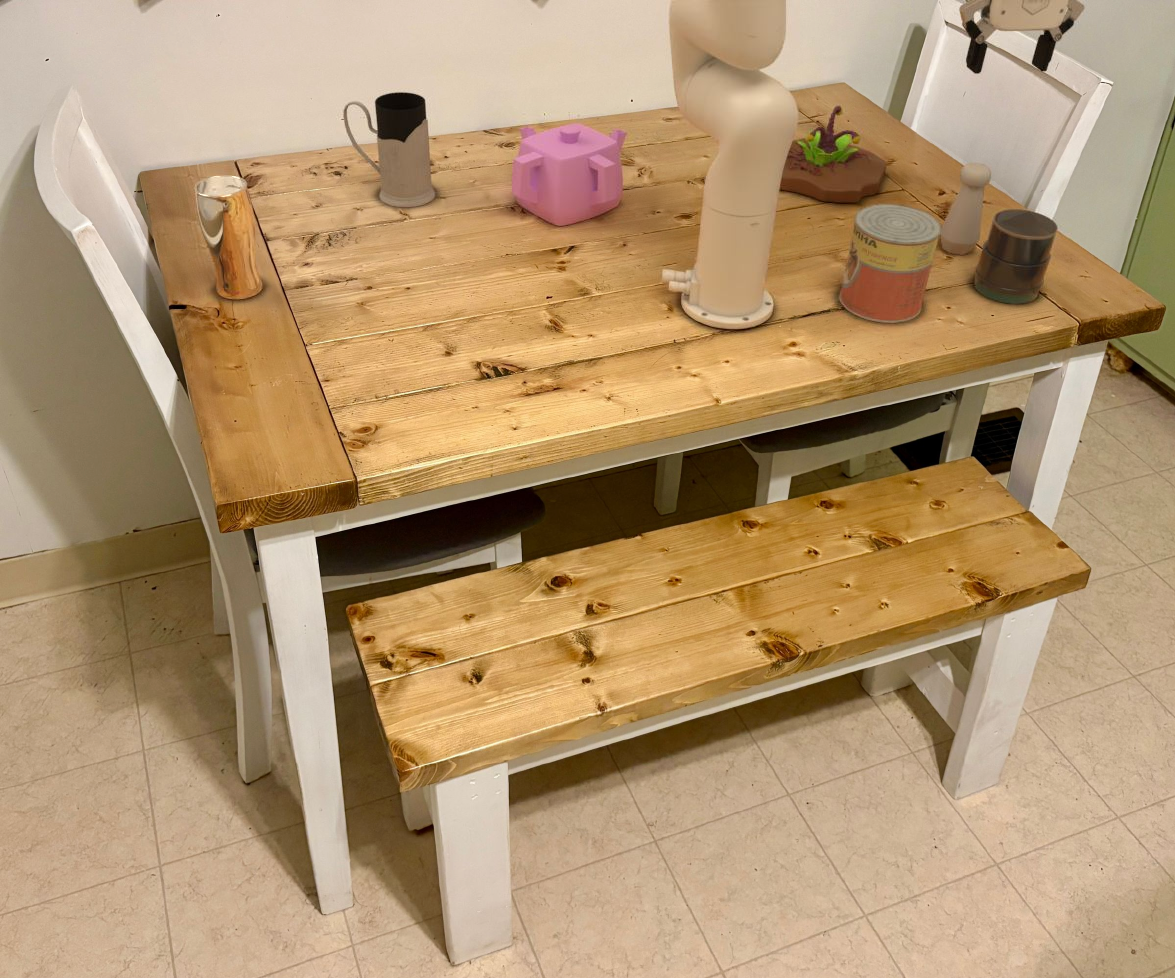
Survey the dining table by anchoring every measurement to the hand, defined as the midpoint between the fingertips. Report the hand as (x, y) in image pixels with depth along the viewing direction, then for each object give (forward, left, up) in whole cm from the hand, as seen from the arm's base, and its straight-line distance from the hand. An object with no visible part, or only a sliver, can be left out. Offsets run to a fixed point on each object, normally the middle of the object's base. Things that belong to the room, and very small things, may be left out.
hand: (1006, 69), depth 154 cm
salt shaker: (-1, -1, -27) cm, 27 cm away
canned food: (-13, -20, -27) cm, 36 cm away
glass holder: (-89, -2, -27) cm, 93 cm away
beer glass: (-100, -36, -27) cm, 109 cm away
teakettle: (-61, +1, -27) cm, 66 cm away
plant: (-21, +21, -27) cm, 39 cm away
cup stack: (+5, -12, -27) cm, 30 cm away
